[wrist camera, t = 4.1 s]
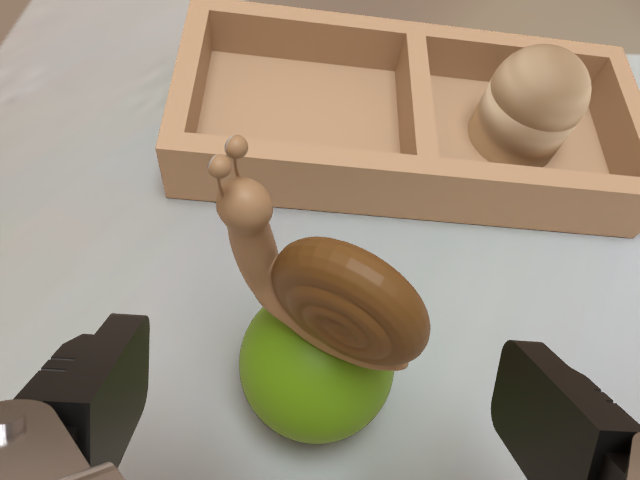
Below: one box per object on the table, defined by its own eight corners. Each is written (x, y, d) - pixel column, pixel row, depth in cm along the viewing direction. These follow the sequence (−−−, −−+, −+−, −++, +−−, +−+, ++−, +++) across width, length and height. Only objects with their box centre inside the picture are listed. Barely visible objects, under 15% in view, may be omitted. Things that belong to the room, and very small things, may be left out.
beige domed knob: (544, 109, 29) (598, 28, 25) (561, 176, 27) (625, 100, 22) (463, 100, 29) (503, 16, 24) (473, 167, 27) (520, 88, 22)
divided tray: (586, 94, 32) (622, 47, 29) (632, 238, 27) (681, 198, 24) (197, 50, 30) (191, -6, 27) (166, 197, 25) (155, 148, 22)
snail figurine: (264, 285, 23) (280, 70, 13) (397, 359, 22) (529, 190, 12) (190, 395, 20) (135, 233, 10) (338, 484, 19) (441, 405, 9)
